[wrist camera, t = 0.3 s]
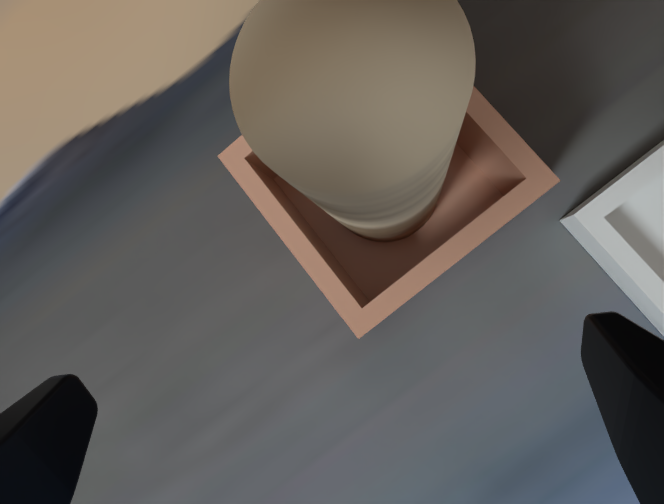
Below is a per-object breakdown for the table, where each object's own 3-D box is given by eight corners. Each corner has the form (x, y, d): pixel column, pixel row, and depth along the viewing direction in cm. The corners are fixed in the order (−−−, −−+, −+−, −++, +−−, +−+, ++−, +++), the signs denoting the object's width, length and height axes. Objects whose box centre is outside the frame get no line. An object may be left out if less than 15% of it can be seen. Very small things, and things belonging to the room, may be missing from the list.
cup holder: (528, 202, 20) (560, 180, 16) (369, 326, 21) (358, 339, 17) (399, 57, 22) (395, 0, 17) (255, 180, 23) (217, 156, 18)
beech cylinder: (463, 194, 20) (532, 77, 9) (375, 264, 21) (326, 244, 9) (392, 112, 21) (365, -99, 9) (309, 182, 22) (185, 65, 10)
